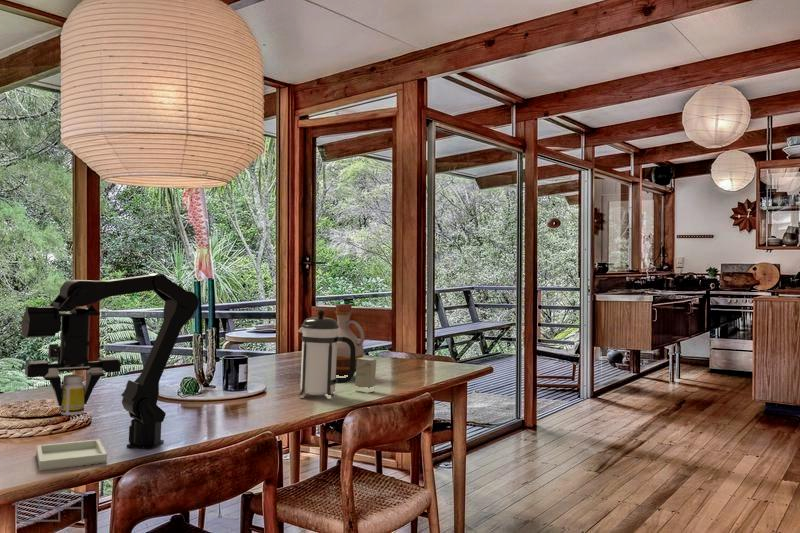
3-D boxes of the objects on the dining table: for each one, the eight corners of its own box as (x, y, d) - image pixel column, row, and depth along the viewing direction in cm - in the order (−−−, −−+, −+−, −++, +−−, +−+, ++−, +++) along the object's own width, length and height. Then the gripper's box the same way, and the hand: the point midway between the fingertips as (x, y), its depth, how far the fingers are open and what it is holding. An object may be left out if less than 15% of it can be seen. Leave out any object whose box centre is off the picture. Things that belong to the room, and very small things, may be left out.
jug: (374, 378, 262) (377, 305, 262) (348, 384, 247) (351, 306, 247) (336, 372, 273) (339, 302, 273) (309, 377, 257) (312, 303, 257)
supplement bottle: (87, 411, 146) (89, 374, 146) (77, 415, 142) (79, 377, 142) (66, 410, 146) (68, 373, 146) (55, 414, 142) (57, 377, 142)
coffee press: (312, 403, 210) (315, 312, 210) (287, 394, 223) (291, 308, 223) (355, 398, 221) (358, 311, 221) (329, 390, 234) (333, 308, 234)
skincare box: (354, 391, 233) (355, 358, 233) (360, 389, 237) (361, 357, 237) (369, 393, 230) (371, 360, 230) (375, 391, 234) (376, 358, 234)
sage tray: (98, 447, 152) (99, 439, 152) (106, 463, 141) (106, 454, 141) (36, 454, 145) (36, 445, 145) (39, 470, 134) (39, 461, 134)
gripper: (111, 330, 156) (109, 394, 156) (23, 333, 145) (20, 401, 145) (122, 335, 147) (119, 403, 147) (29, 338, 136) (26, 412, 136)
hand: (72, 404), depth 144 cm, fingers closed on supplement bottle, 5 cm apart
